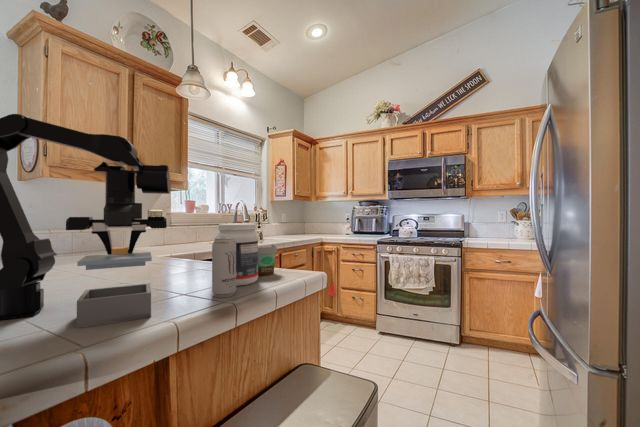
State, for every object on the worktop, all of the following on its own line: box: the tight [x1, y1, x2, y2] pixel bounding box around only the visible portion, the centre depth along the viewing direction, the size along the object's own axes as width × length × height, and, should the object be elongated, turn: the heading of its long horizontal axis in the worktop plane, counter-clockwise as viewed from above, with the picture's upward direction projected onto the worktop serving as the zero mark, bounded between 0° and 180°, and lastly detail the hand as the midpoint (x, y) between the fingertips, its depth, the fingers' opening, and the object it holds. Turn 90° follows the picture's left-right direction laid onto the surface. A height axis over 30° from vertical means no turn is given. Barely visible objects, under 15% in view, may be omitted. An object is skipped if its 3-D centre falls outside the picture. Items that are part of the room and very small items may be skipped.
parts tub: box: [76, 282, 152, 329], centre depth 63 cm, size 12×10×5 cm
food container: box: [258, 244, 278, 277], centre depth 106 cm, size 12×6×10 cm, turn 143°
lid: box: [76, 246, 153, 271], centre depth 65 cm, size 12×14×3 cm
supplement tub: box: [215, 222, 259, 287], centre depth 94 cm, size 13×13×18 cm
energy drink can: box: [211, 237, 237, 298], centre depth 79 cm, size 6×6×15 cm
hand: (120, 260), depth 69 cm, fingers closed on lid, 3 cm apart
